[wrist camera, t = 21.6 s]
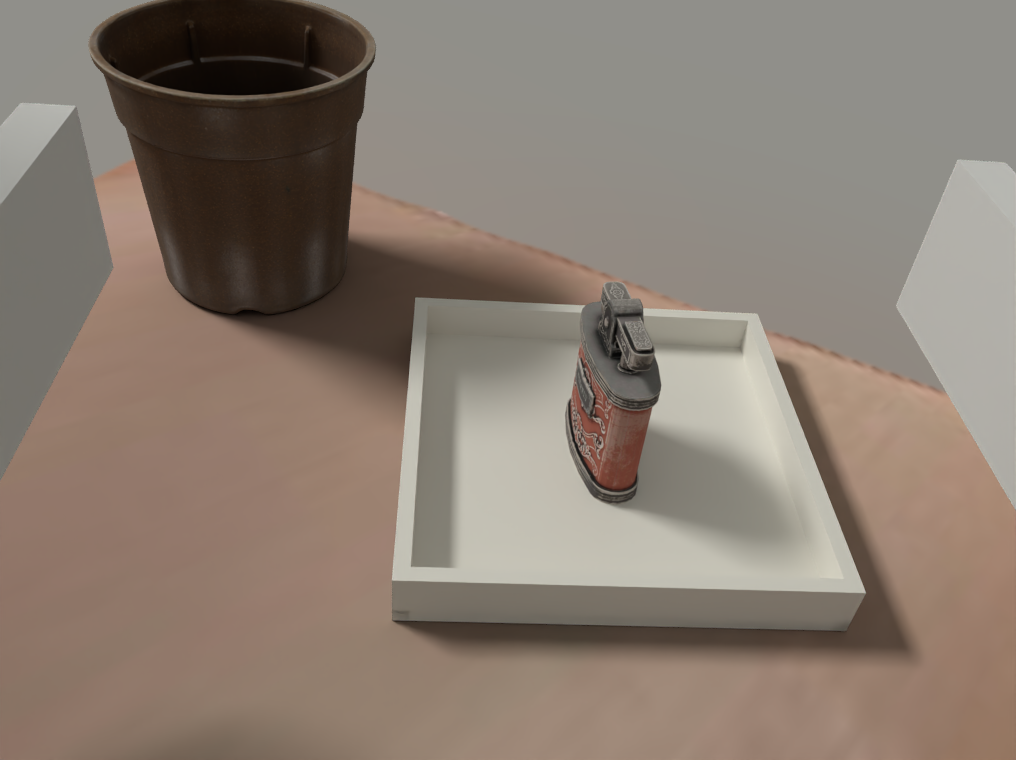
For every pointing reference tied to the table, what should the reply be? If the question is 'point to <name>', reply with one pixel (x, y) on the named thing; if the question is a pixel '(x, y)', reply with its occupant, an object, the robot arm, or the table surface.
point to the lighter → (612, 395)
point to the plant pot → (242, 141)
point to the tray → (593, 524)
